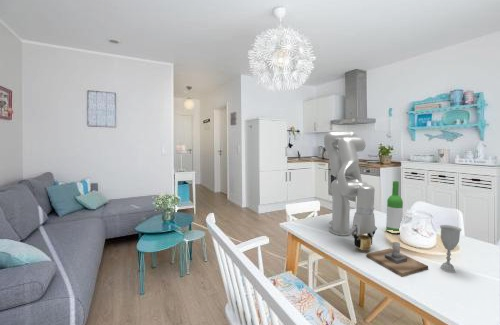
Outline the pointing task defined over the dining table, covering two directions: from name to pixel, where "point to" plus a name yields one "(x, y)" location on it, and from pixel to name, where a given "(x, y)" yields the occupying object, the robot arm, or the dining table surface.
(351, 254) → the dining table surface
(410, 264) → the shaft stand
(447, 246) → the chalice
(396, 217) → the wine bottle
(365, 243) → the ring
